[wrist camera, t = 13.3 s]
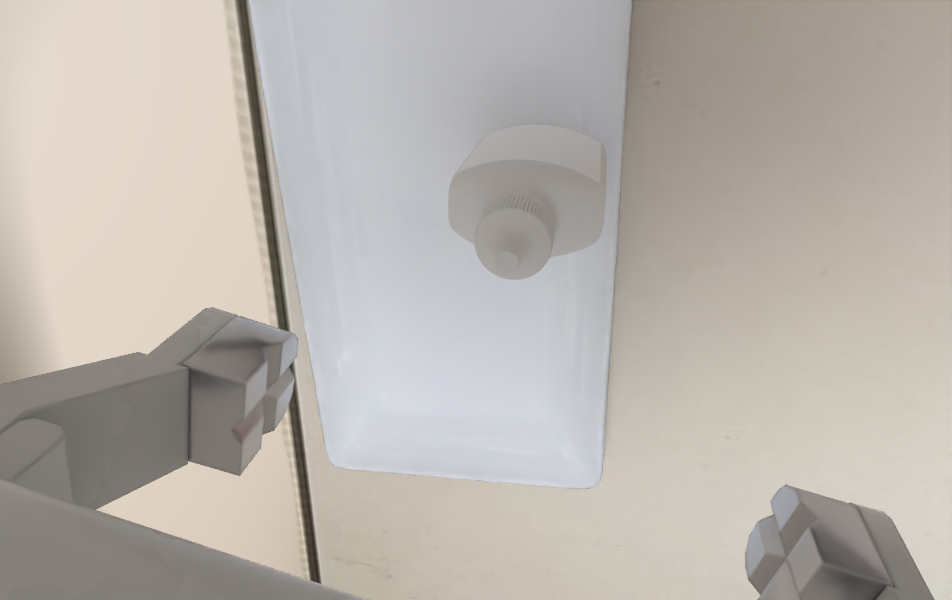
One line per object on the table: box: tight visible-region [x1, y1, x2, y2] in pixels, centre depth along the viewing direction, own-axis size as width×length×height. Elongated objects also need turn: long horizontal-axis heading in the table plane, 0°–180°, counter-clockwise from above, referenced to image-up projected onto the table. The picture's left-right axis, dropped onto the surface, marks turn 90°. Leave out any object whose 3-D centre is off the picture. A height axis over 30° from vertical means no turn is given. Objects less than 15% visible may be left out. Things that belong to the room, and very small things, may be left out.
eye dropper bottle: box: [448, 123, 607, 280], centre depth 23 cm, size 4×6×12 cm
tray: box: [248, 0, 633, 489], centre depth 33 cm, size 17×32×4 cm, turn 2°
